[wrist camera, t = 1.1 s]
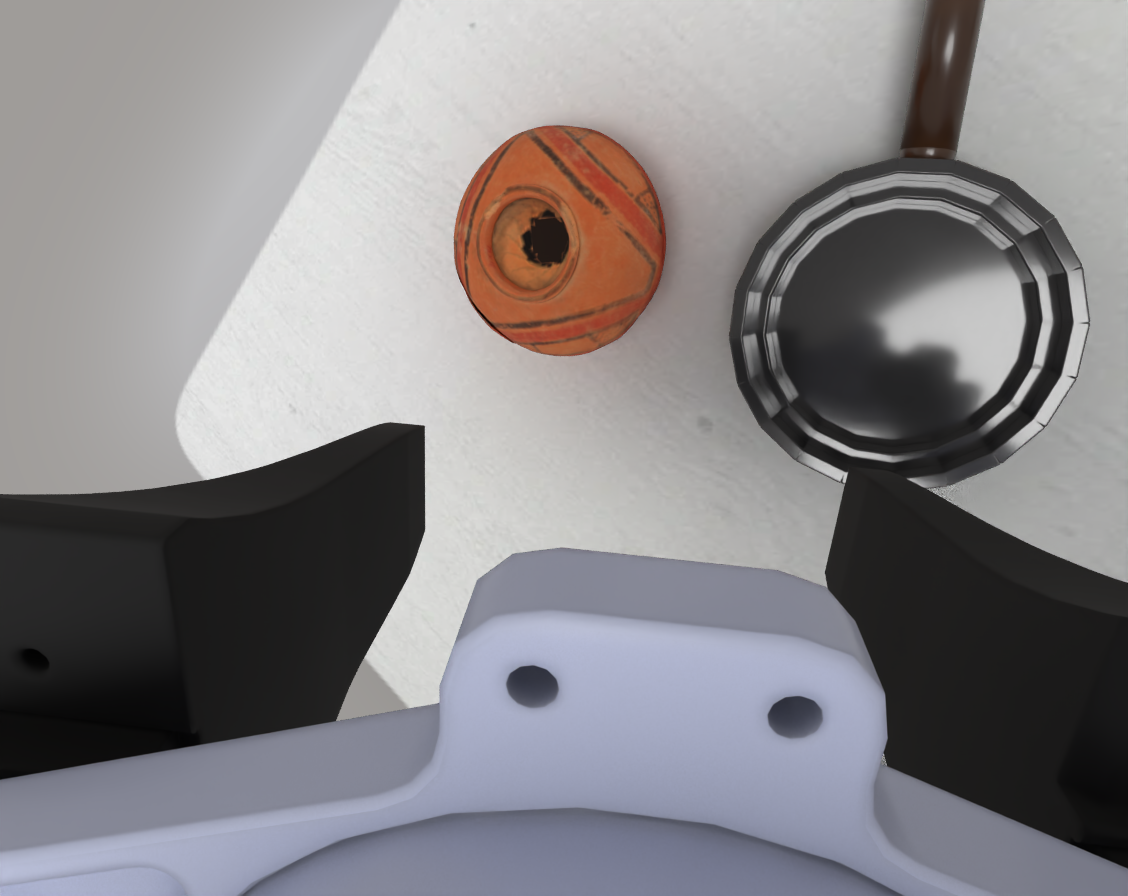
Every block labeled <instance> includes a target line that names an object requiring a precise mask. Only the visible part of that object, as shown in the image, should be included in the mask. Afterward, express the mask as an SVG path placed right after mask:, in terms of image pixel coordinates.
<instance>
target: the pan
mask: <svg viewBox="0 0 1128 896" xmlns="http://www.w3.org/2000/svg"><path fill="white" fill-rule="evenodd" d="M758 242H759V243H757V244H756V246H755V248H754V250H753V253H752V255H751V257H750V259H749V261H748V263H747V265H746V267H745V270H744V272H743V274H742V276H741V278H740V280H739V282H738V284H737V286H736V288H737V289H736V290H735V296H734V304H733V311H732V318H731V325H730V332H729V341H730V347H731V352H732V358H733V363H734V369H735V375H736V380H737V384H738V387H739V389H740V391H741V392H742V394H743V396H744V398H745V400H746V402H747V404H748V405H749V407H750V409H751V411H752V413H753V415H754V417H755V419H756V420H757V422H758V424H759V426H761V428H762V429H763V430H764V431H765V432H766V433H767V434H768V435H769V436H770V437H771V438H772V439H773V440H774V441H775V442H776V443H777V444H778V445H779V446H780V447H782V448H783V449H784V450H785V451H786V452H787V453H788V454H789V455H790V456H791V457H792V458H793V459H794V460H796V461H797V462H799V463H801V464H803V465H805V466H807V467H809V468H811V469H813V470H815V471H817V472H819V473H821V474H823V475H825V476H827V477H829V478H831V479H833V480H835V481H837V482H839V483H842V484H845V482H846V478H847V474H848V469H849V467H855V468H865V469H875V470H886V471H890V472H893V473H895V474H898V475H900V476H902V477H904V478H907V479H908V480H910V481H912V482H914V483H916V484H918V485H920V486H922V487H924V488H925V489H928V488H937V487H946V486H949V485H952V484H955V483H957V482H959V481H962V480H964V479H967V478H969V477H971V476H974V475H976V474H979V473H981V472H983V471H986V470H988V469H991V468H993V467H995V466H998V465H1000V463H1003V462H1004V461H1005V460H1007V459H1008V458H1009V457H1010V456H1012V455H1013V454H1014V453H1015V452H1016V451H1018V450H1019V449H1020V448H1021V447H1022V446H1024V445H1025V444H1026V443H1027V442H1029V441H1030V440H1031V439H1032V438H1033V437H1035V436H1036V435H1037V434H1038V433H1039V432H1041V431H1042V430H1043V429H1044V428H1045V426H1047V425H1048V423H1049V422H1050V420H1051V418H1052V417H1053V415H1054V414H1055V412H1056V411H1057V409H1058V407H1059V406H1060V404H1061V403H1062V401H1063V400H1064V398H1065V397H1066V395H1067V393H1068V392H1069V390H1070V389H1071V387H1072V386H1073V384H1074V383H1075V381H1076V378H1077V377H1078V373H1079V369H1080V364H1081V360H1082V356H1083V352H1084V347H1085V343H1086V339H1087V335H1088V330H1089V326H1090V323H1089V322H1090V317H1089V309H1088V301H1087V294H1086V286H1085V279H1084V271H1083V267H1082V264H1081V262H1080V260H1079V258H1078V257H1077V255H1076V253H1075V251H1074V249H1073V248H1072V246H1071V244H1070V242H1069V240H1068V239H1067V237H1066V235H1065V233H1064V231H1063V230H1062V228H1061V226H1060V224H1059V222H1058V221H1057V219H1056V218H1054V215H1053V214H1051V213H1050V212H1049V211H1048V210H1047V209H1046V208H1044V207H1043V206H1042V205H1041V204H1040V203H1038V202H1037V201H1036V200H1035V199H1034V198H1032V197H1031V196H1030V195H1029V194H1028V193H1026V192H1025V191H1024V190H1023V189H1022V188H1021V187H1019V186H1018V185H1017V184H1016V183H1015V182H1013V181H1010V179H1008V178H1005V177H1002V176H1000V175H997V174H994V173H992V172H989V171H986V170H983V169H981V168H978V167H975V166H973V165H970V164H967V163H965V162H962V161H959V160H957V161H956V160H955V159H928V158H901V157H900V158H894V159H890V160H886V161H882V162H879V163H875V164H871V165H868V166H864V167H860V168H856V169H853V170H849V171H845V172H843V173H840V174H838V175H837V176H835V177H833V178H832V179H830V180H829V181H827V182H825V183H824V184H822V185H820V186H819V187H817V188H816V189H814V190H812V191H811V192H809V193H807V194H806V195H804V196H802V197H801V198H799V199H798V200H796V201H795V203H792V204H791V205H790V207H789V208H788V209H787V210H786V211H785V212H784V213H783V214H782V215H781V216H780V218H779V219H778V220H777V221H776V222H775V223H774V224H773V225H772V226H771V228H770V229H769V230H768V231H767V232H766V233H765V234H764V235H763V236H762V238H761V239H760V240H759V241H758Z"/></svg>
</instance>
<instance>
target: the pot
mask: <svg viewBox="0 0 1128 896" xmlns="http://www.w3.org/2000/svg"><path fill="white" fill-rule="evenodd" d="M665 252H666V236H665V226H664V219H663V214H662V211H661V207H660V204H659V200H658V197H657V195H656V192H655V190H654V187H653V185H652V183H651V181H650V180H649V178H648V176H647V174H646V173H645V171H644V169H643V168H642V167H641V165H640V164H639V163H638V162H637V161H636V160H635V159H634V158H633V156H632V155H631V154H630V153H629V152H628V151H627V150H625V149H624V148H623V147H622V146H621V145H620V144H618V143H617V142H615V141H614V140H612V139H611V138H609V137H608V136H606V135H604V134H602V133H600V132H598V131H595V130H591V129H587V128H579V127H570V126H559V125H557V126H543V127H537V128H534V129H531V130H527V131H524V132H522V133H519V134H517V135H515V136H513V137H512V138H510V139H509V140H507V141H506V142H505V143H504V144H502V145H501V146H500V147H499V148H498V149H497V150H496V151H494V152H493V153H492V154H491V155H490V157H488V158H487V160H486V161H485V162H484V163H483V164H482V165H481V167H480V168H479V169H478V171H477V172H476V173H475V175H474V177H473V178H472V180H471V182H470V184H469V185H468V187H467V189H466V191H465V193H464V196H463V198H462V200H461V203H460V206H459V210H458V214H457V219H456V224H455V232H454V258H455V265H456V270H457V274H458V276H459V279H460V282H461V283H462V285H463V287H464V290H465V291H466V294H467V296H468V299H469V301H470V303H471V304H472V306H473V308H474V309H475V310H476V312H477V313H478V314H479V316H480V317H481V318H482V319H483V320H484V321H485V323H486V324H487V325H488V326H489V327H490V328H491V329H493V330H494V331H495V332H497V333H498V334H500V335H501V336H502V337H504V338H505V339H507V340H509V341H510V342H512V343H514V342H515V344H518V345H520V346H522V347H524V348H527V349H529V350H531V351H534V352H537V353H541V354H547V355H553V356H575V355H582V354H586V353H589V352H592V351H594V350H597V349H599V348H601V347H603V346H605V345H607V344H609V343H611V342H613V341H615V340H617V339H618V338H620V337H621V336H622V335H623V334H624V333H625V332H626V331H627V330H628V329H629V328H630V327H631V326H632V325H633V324H634V322H635V321H636V319H637V318H638V317H639V315H640V314H641V313H642V312H643V311H644V309H645V308H646V306H647V305H648V303H649V302H650V300H651V299H652V297H653V295H654V293H655V291H656V289H657V287H658V285H659V281H660V278H661V274H662V270H663V265H664V260H665Z"/></svg>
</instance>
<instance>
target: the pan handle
mask: <svg viewBox="0 0 1128 896" xmlns="http://www.w3.org/2000/svg"><path fill="white" fill-rule="evenodd" d="M984 5H985V0H926V4H925V10H924V15H923V21H922V27H921V33H920V38H919V44H918V50H917V55H916V61H915V67H914V72H913V78H912V84H911V89H910V95H909V101H908V106H907V112H906V118H905V123H904V129H903V135H902V140H901V146H900V153H899V158H900V157H901V158H928V159H955V156H956V152H957V146H958V141H959V136H960V131H961V125H962V120H963V115H964V110H965V105H966V99H967V94H968V89H969V84H970V78H971V73H972V68H973V63H974V57H975V52H976V47H977V42H978V36H979V31H980V26H981V21H982V15H983V10H984Z"/></svg>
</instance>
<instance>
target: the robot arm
mask: <svg viewBox="0 0 1128 896" xmlns="http://www.w3.org/2000/svg"><path fill="white" fill-rule="evenodd" d="M424 532H425V426H422V425H412V424H402V423H391V422H390V423H383V424H379V425H376V426H373V427H370V428H367V429H364V430H362V431H359V432H357V433H354V434H351V435H349V436H346V437H344V438H341V439H339V440H336V441H334V442H331V443H329V444H326V445H323V446H321V447H318V448H316V449H313V450H310V451H307V452H304V453H301V454H299V455H296V456H293V457H290V458H287V459H284V460H281V461H278V462H275V463H273V464H269V465H266V466H263V467H259V468H256V469H252V470H248V471H245V472H241V473H236V474H232V475H228V476H224V477H220V478H215V479H210V480H204V481H198V482H192V483H186V484H179V485H173V486H167V487H160V488H153V489H144V490H134V491H124V492H109V493H93V494H70V495H69V494H63V495H62V494H61V495H59V494H58V495H56V494H55V495H52V494H51V495H48V494H47V495H9V494H0V896H1128V583H1126V582H1123V581H1120V580H1117V579H1114V578H1111V577H1108V576H1105V575H1103V574H1100V573H1097V572H1094V571H1092V570H1089V569H1087V568H1084V567H1082V566H1079V565H1077V564H1074V563H1072V562H1070V561H1067V560H1065V559H1062V558H1060V557H1057V556H1055V555H1052V554H1050V553H1048V552H1045V551H1043V550H1041V549H1039V548H1037V547H1034V546H1032V545H1030V544H1028V543H1026V542H1024V541H1022V540H1020V539H1018V538H1016V537H1014V536H1012V535H1010V534H1008V533H1006V532H1004V531H1002V530H1000V529H998V528H996V527H994V526H992V525H990V524H988V523H986V522H985V521H983V520H981V519H979V518H977V517H975V516H973V515H972V514H970V513H968V512H966V511H964V510H963V509H961V508H959V507H957V506H956V505H954V504H952V503H950V502H948V501H947V500H945V499H943V498H941V497H940V496H938V495H936V494H934V493H933V492H931V491H929V490H927V489H925V488H924V487H922V486H920V485H918V484H916V483H914V482H912V481H910V480H908V479H907V478H904V477H902V476H900V475H898V474H895V473H893V472H890V471H886V470H875V469H865V468H855V467H849V469H848V474H847V478H846V482H845V487H844V491H843V496H842V500H841V504H840V509H839V513H838V517H837V522H836V526H835V530H834V535H833V539H832V544H831V548H830V552H829V557H828V561H827V565H826V570H825V575H826V581H827V586H828V589H827V588H826V587H824V586H822V585H819V584H816V583H813V582H810V581H807V580H804V579H801V578H799V577H796V576H793V575H790V574H787V573H784V572H781V571H779V570H770V569H760V568H751V567H741V566H732V565H722V564H713V563H703V562H694V561H684V560H675V559H665V558H656V557H646V556H637V555H627V554H618V553H608V552H599V551H589V550H580V549H570V548H555V549H547V550H539V551H531V552H523V553H515V554H512V555H511V556H509V557H508V558H507V559H505V560H504V561H502V562H501V563H500V564H498V565H497V566H496V567H494V568H493V569H492V570H490V571H489V572H488V573H486V574H485V575H483V576H482V577H481V578H479V579H478V580H477V582H476V585H475V588H474V590H473V593H472V596H471V599H470V602H469V604H468V607H467V610H466V613H465V615H464V618H463V621H462V624H461V627H460V629H459V632H458V635H457V638H456V641H455V643H454V646H453V649H452V652H451V655H450V658H449V661H448V663H447V666H446V669H445V672H444V675H443V678H442V681H441V684H440V702H439V703H438V704H432V705H426V706H421V707H415V708H409V709H403V710H398V711H393V712H387V713H381V714H375V715H369V716H363V717H358V718H352V719H346V720H340V721H336V719H337V717H338V714H339V711H340V709H341V707H342V704H343V701H344V699H345V697H346V694H347V692H348V689H349V687H350V685H351V683H352V680H353V678H354V676H355V674H356V672H357V670H358V668H359V666H360V664H361V662H362V661H363V659H364V657H365V655H366V653H367V651H368V650H369V648H370V646H371V644H372V642H373V641H374V639H375V637H376V635H377V633H378V632H379V630H380V628H381V626H382V624H383V622H384V621H385V619H386V617H387V615H388V613H389V612H390V610H391V608H392V606H393V604H394V602H395V601H396V599H397V597H398V595H399V593H400V591H401V589H402V588H403V586H404V584H405V582H406V580H407V578H408V576H409V574H410V572H411V569H412V567H413V564H414V561H415V558H416V556H417V553H418V550H419V547H420V544H421V541H422V538H423V535H424ZM883 753H884V755H885V759H886V763H887V766H885V765H883V764H881V759H882V756H883Z"/></svg>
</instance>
